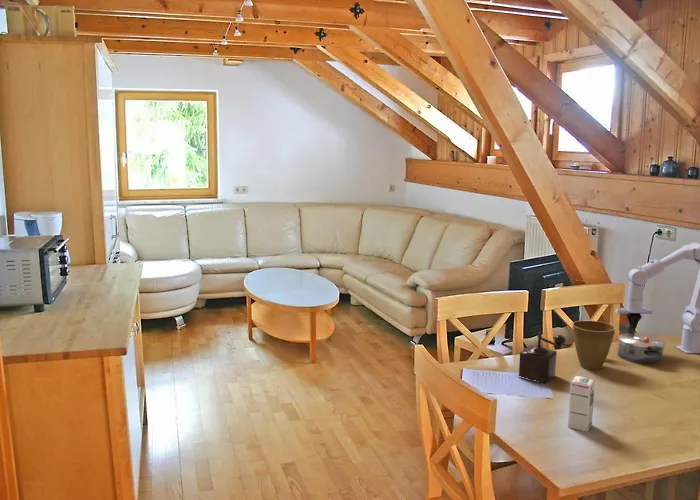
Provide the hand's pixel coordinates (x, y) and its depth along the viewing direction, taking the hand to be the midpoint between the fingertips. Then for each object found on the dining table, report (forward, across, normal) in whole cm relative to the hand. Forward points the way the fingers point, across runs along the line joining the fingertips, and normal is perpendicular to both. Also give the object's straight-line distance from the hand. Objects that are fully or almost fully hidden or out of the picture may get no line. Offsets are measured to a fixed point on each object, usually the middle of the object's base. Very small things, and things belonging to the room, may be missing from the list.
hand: (632, 331), depth 261 cm
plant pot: (+7, +25, +21) cm, 34 cm away
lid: (+1, +2, +8) cm, 9 cm away
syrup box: (+7, +49, +71) cm, 86 cm away
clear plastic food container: (+7, +1, +11) cm, 13 cm away
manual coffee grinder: (+7, +47, +33) cm, 58 cm away
